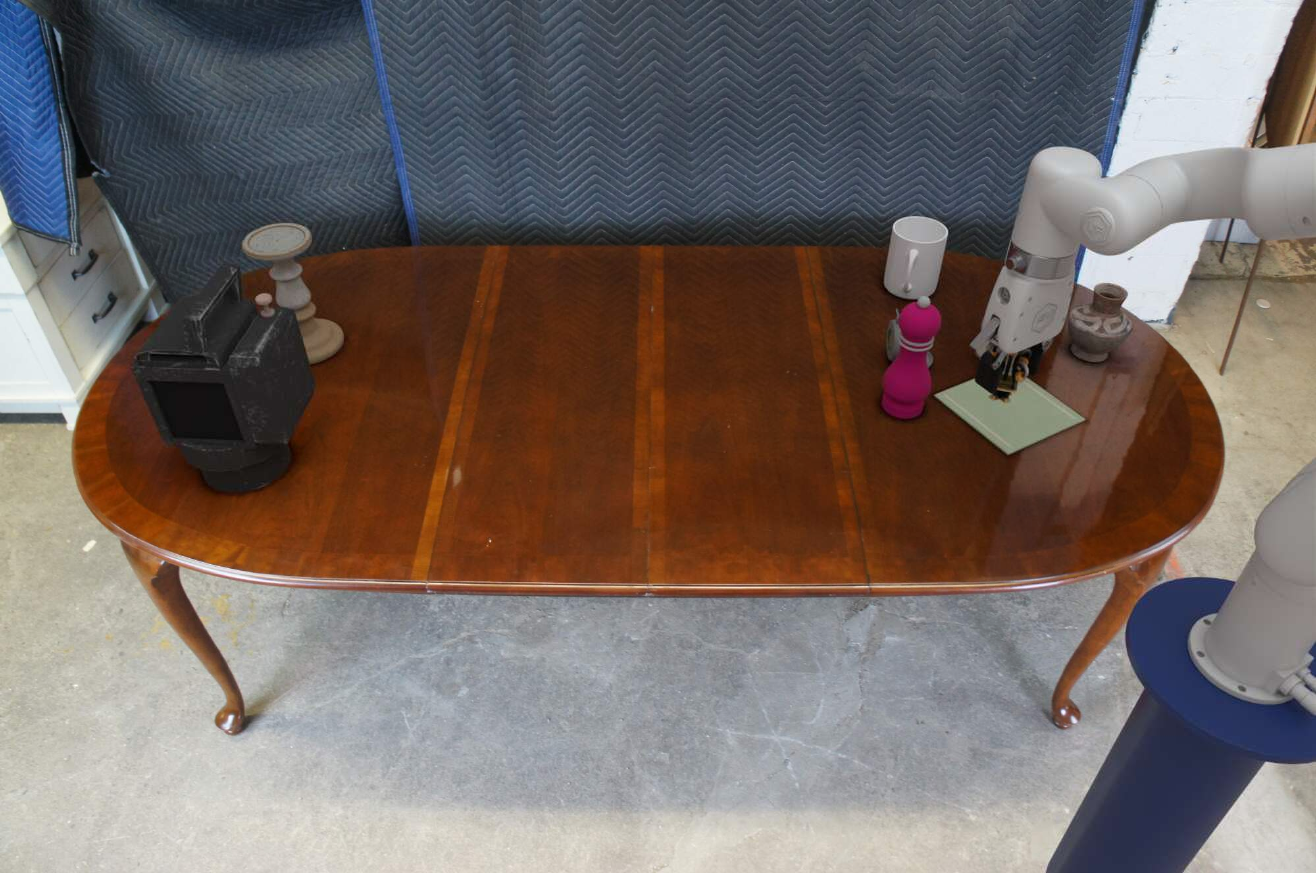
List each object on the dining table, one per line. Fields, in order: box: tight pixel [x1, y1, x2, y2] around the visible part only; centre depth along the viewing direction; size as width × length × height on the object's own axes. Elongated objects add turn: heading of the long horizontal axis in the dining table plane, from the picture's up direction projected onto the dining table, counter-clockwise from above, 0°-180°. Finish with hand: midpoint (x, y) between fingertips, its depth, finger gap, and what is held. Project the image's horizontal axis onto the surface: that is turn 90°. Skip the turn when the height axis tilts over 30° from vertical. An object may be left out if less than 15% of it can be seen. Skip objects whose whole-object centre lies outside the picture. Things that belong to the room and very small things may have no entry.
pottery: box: [979, 282, 1134, 371], centre depth 158 cm, size 11×25×12 cm, turn 101°
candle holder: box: [241, 222, 345, 366], centre depth 158 cm, size 12×12×20 cm
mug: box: [883, 215, 949, 301], centre depth 174 cm, size 10×12×12 cm
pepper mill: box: [881, 296, 942, 420], centre depth 146 cm, size 7×7×20 cm
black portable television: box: [130, 262, 317, 494], centre depth 133 cm, size 15×18×30 cm
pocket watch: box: [885, 308, 934, 369], centre depth 158 cm, size 8×8×10 cm
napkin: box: [933, 370, 1086, 456], centre depth 152 cm, size 16×16×1 cm
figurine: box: [988, 345, 1031, 404], centre depth 125 cm, size 5×5×8 cm
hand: (1005, 377), depth 126 cm, fingers closed on figurine, 6 cm apart
